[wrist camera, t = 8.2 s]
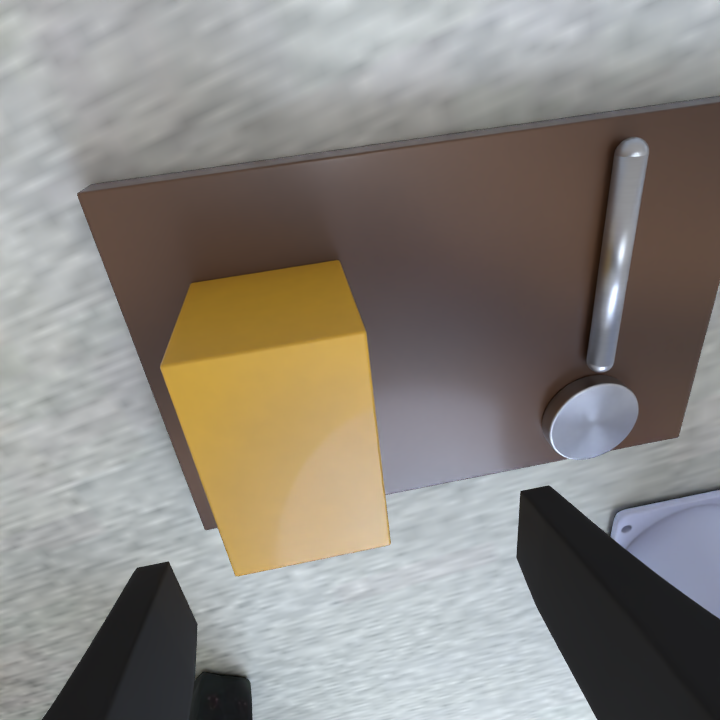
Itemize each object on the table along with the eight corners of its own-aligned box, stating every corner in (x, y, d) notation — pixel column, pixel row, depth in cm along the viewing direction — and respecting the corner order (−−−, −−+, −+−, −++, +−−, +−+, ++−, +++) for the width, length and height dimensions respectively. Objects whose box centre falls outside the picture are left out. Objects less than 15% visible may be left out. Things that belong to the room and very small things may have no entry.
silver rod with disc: (620, 440, 21) (634, 454, 20) (538, 456, 21) (548, 471, 20) (681, 127, 15) (703, 130, 14) (566, 144, 15) (582, 148, 14)
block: (363, 438, 19) (391, 545, 15) (243, 460, 19) (235, 577, 14) (339, 259, 15) (366, 330, 11) (189, 282, 15) (157, 366, 11)
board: (660, 421, 23) (679, 437, 22) (207, 508, 21) (204, 531, 20) (738, 93, 16) (770, 94, 15) (88, 184, 14) (75, 193, 13)
